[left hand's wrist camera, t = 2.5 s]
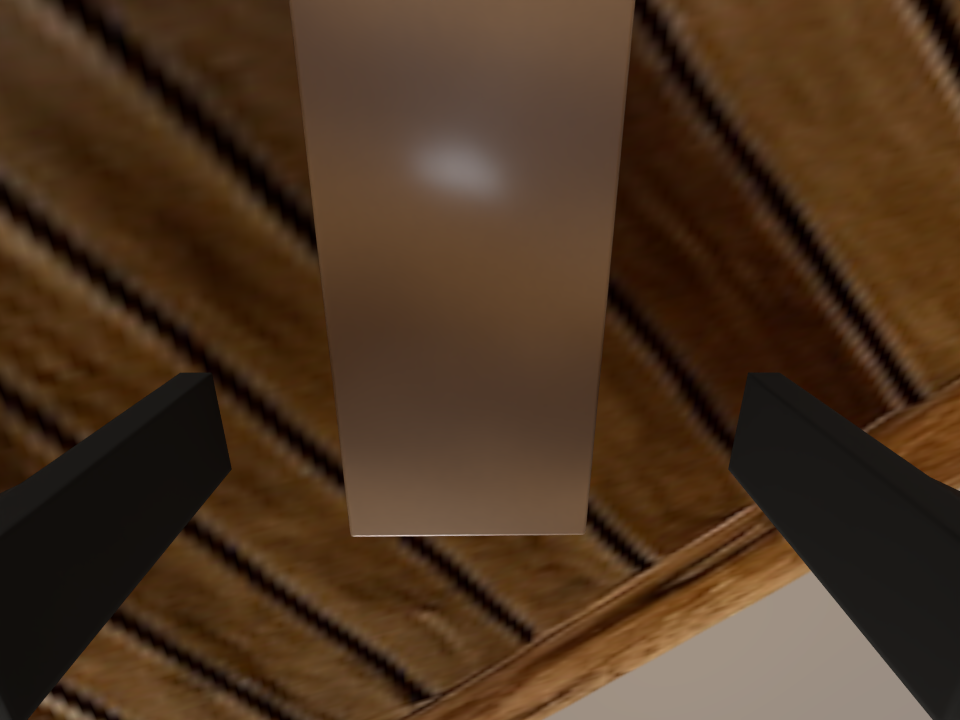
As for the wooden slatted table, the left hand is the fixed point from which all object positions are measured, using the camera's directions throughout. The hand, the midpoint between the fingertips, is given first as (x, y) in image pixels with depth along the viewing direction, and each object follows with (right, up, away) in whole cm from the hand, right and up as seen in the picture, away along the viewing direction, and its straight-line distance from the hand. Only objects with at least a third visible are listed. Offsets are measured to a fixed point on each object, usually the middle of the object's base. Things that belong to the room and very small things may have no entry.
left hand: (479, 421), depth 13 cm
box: (0, +11, +9) cm, 14 cm away
